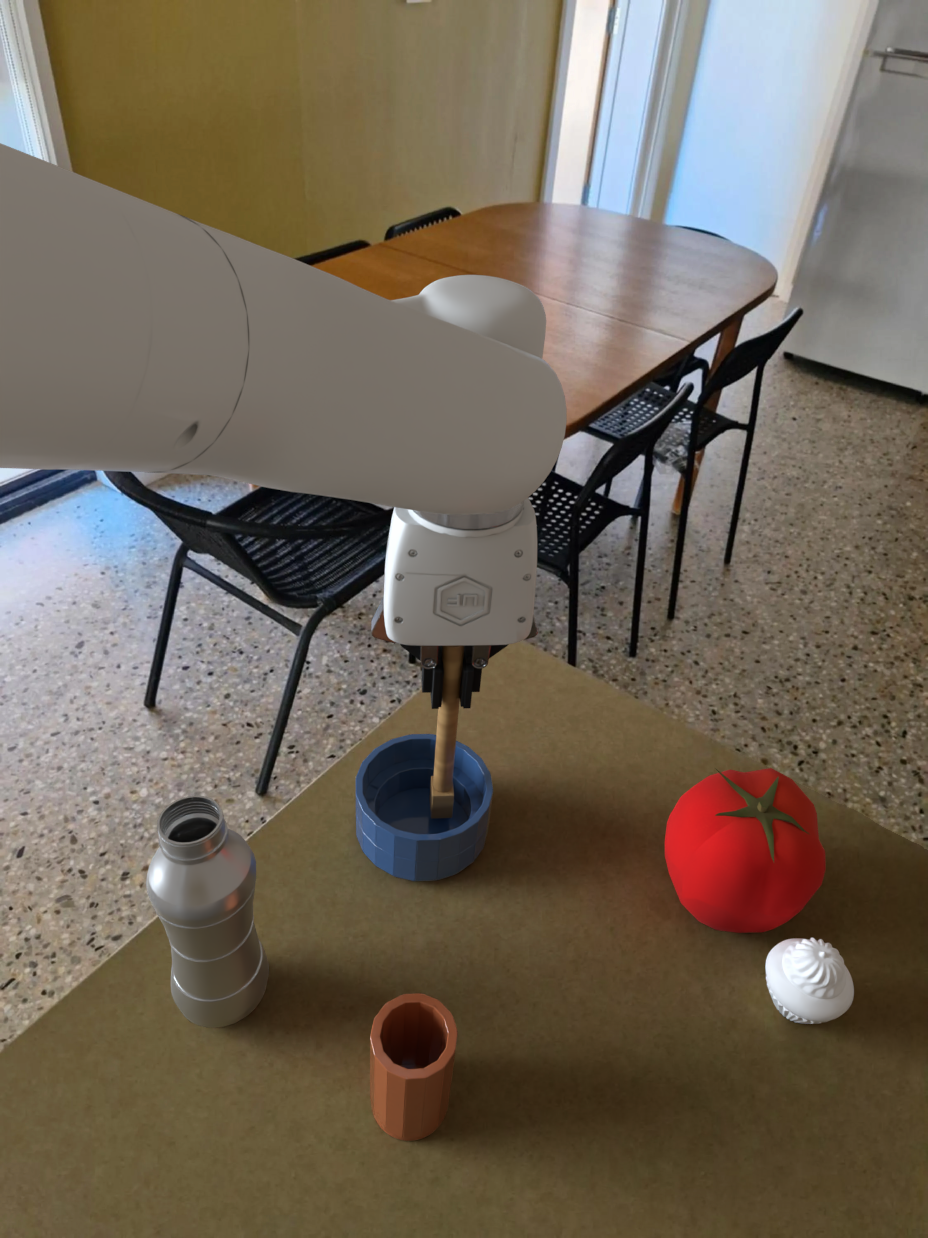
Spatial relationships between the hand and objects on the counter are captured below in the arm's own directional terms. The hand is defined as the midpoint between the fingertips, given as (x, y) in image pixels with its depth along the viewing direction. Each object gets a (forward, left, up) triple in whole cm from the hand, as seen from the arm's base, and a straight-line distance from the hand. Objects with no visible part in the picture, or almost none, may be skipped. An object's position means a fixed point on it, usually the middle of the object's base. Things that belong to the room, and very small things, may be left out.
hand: (449, 694), depth 67 cm
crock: (-23, +4, -15) cm, 28 cm away
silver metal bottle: (-15, +17, -16) cm, 27 cm away
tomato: (-8, -23, -16) cm, 29 cm away
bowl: (-1, +2, -15) cm, 16 cm away
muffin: (-18, -25, -16) cm, 35 cm away
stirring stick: (0, 0, -14) cm, 14 cm away
